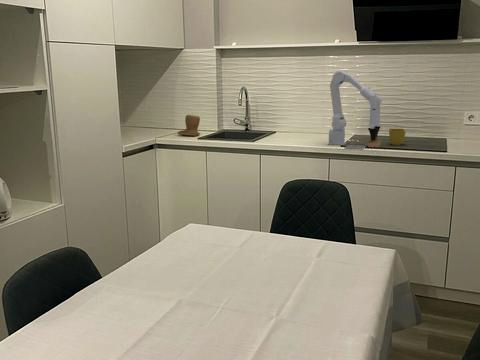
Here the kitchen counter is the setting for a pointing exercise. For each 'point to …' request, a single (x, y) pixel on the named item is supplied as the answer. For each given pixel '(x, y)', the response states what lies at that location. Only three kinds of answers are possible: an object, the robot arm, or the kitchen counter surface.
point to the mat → (355, 147)
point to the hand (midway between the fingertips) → (373, 139)
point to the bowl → (373, 144)
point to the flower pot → (396, 136)
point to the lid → (373, 140)
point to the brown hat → (191, 126)
